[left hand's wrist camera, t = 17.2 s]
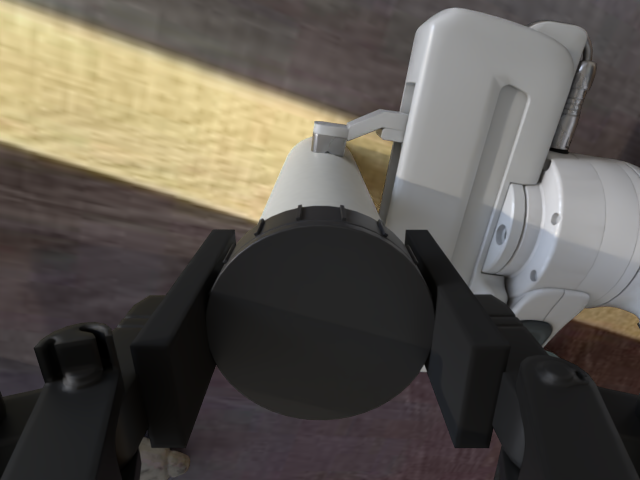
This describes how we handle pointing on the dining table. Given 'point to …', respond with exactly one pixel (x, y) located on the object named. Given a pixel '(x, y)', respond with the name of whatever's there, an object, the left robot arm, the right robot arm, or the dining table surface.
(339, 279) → the lid
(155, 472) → the decorative stone
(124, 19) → the dining table surface
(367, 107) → the dining table surface
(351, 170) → the jar
